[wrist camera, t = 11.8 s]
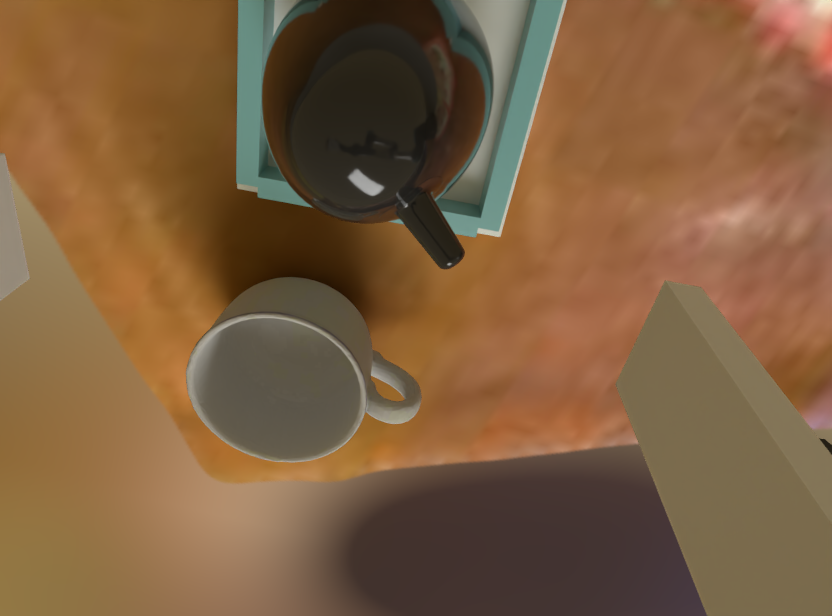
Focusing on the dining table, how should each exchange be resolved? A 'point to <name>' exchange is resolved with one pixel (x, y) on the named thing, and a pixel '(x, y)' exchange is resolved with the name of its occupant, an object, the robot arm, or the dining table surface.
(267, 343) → the teacup
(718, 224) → the dining table surface
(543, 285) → the dining table surface
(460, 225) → the dock
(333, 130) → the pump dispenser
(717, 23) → the dining table surface
